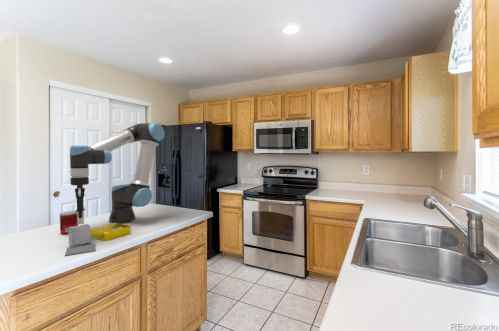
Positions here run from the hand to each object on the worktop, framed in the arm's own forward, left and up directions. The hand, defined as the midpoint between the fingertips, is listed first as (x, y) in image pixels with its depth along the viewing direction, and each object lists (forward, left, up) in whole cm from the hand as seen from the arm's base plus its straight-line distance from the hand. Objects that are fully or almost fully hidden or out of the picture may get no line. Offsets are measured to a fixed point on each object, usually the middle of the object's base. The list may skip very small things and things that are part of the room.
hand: (80, 223), depth 126 cm
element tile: (-13, -2, -9) cm, 16 cm away
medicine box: (0, +8, -8) cm, 11 cm away
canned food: (+6, -17, -8) cm, 20 cm away
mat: (-1, +15, -8) cm, 17 cm away
